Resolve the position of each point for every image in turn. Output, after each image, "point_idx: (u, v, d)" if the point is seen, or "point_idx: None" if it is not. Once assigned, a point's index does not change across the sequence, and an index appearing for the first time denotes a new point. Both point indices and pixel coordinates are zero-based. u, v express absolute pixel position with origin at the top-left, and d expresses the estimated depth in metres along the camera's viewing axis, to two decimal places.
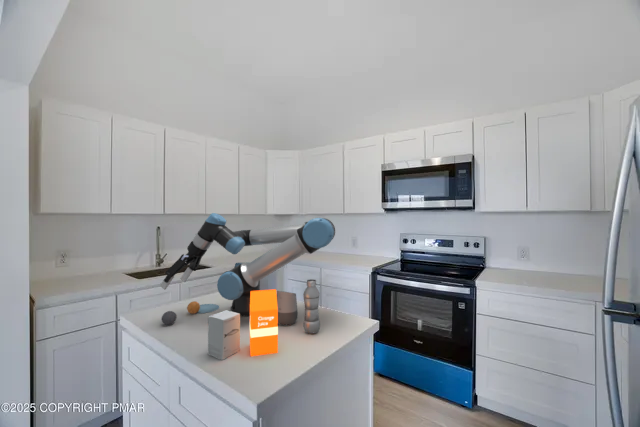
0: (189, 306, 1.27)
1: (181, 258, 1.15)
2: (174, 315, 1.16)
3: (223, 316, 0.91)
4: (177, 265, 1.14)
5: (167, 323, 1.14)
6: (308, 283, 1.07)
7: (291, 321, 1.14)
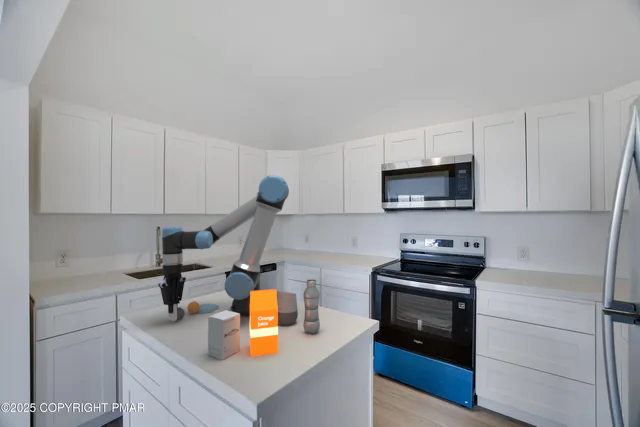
0: (189, 306, 1.27)
1: (161, 287, 1.12)
2: (184, 313, 1.21)
3: (223, 316, 0.91)
4: (164, 294, 1.13)
5: None
6: (308, 283, 1.07)
7: (291, 321, 1.14)
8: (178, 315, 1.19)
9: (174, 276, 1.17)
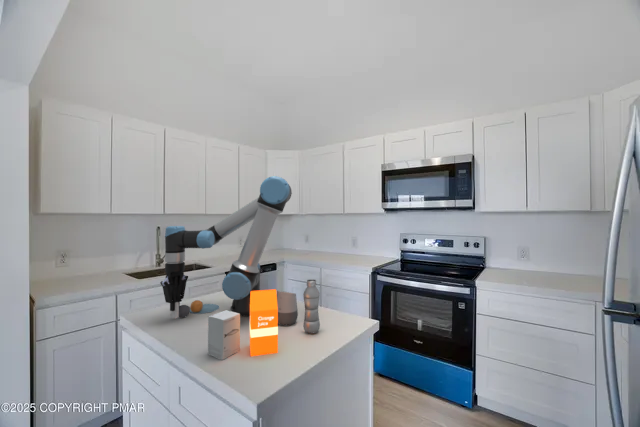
0: (194, 301, 1.30)
1: (163, 285, 1.14)
2: (188, 312, 1.24)
3: (223, 316, 0.91)
4: (166, 292, 1.15)
5: (185, 305, 1.25)
6: (308, 283, 1.07)
7: (291, 321, 1.14)
8: (186, 307, 1.24)
9: (176, 274, 1.19)
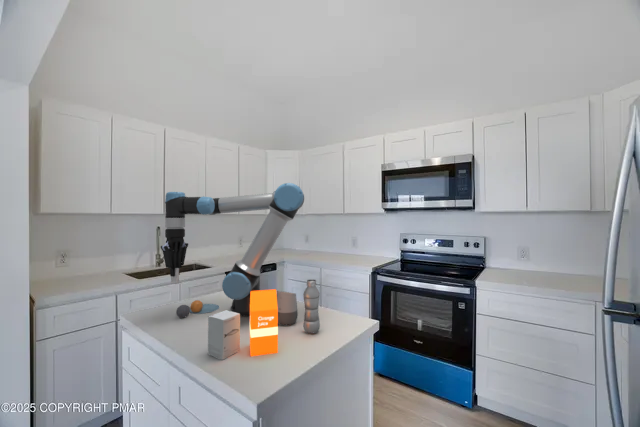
0: (194, 301, 1.30)
1: (163, 250, 1.14)
2: (188, 312, 1.24)
3: (223, 316, 0.91)
4: (166, 256, 1.15)
5: (185, 305, 1.25)
6: (308, 283, 1.07)
7: (291, 321, 1.14)
8: (186, 307, 1.24)
9: (176, 240, 1.19)
